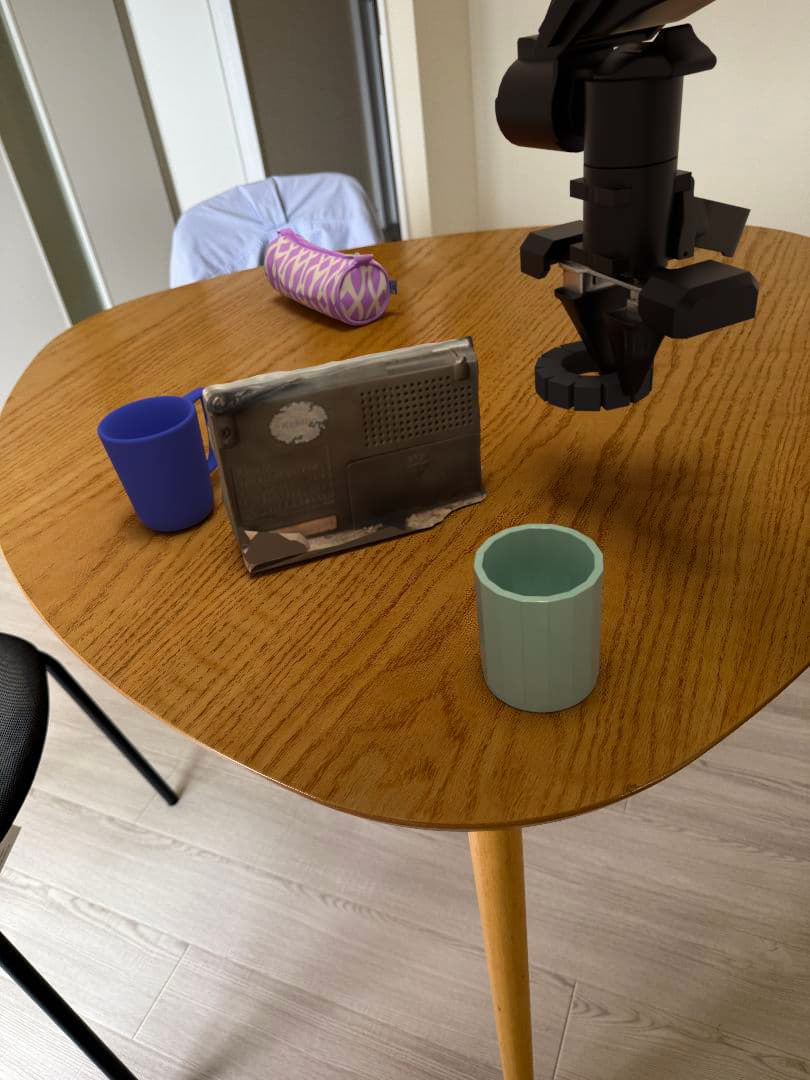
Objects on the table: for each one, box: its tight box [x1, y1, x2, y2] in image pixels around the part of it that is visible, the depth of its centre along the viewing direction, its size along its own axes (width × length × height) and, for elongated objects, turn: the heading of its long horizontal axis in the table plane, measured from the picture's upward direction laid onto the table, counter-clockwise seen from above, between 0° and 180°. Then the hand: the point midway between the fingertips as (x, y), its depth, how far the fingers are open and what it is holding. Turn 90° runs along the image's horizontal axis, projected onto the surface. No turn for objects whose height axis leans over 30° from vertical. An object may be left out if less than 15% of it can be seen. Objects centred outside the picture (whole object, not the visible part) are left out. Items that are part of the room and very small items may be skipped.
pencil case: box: [263, 227, 398, 326], centre depth 109 cm, size 22×9×9 cm, turn 39°
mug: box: [96, 386, 218, 532], centre depth 70 cm, size 8×12×10 cm
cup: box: [473, 523, 604, 713], centre depth 48 cm, size 7×7×9 cm
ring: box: [534, 340, 655, 413], centre depth 60 cm, size 9×9×2 cm
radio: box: [202, 335, 488, 574], centre depth 63 cm, size 23×9×15 cm, turn 105°
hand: (620, 388), depth 58 cm, fingers closed on ring, 2 cm apart
